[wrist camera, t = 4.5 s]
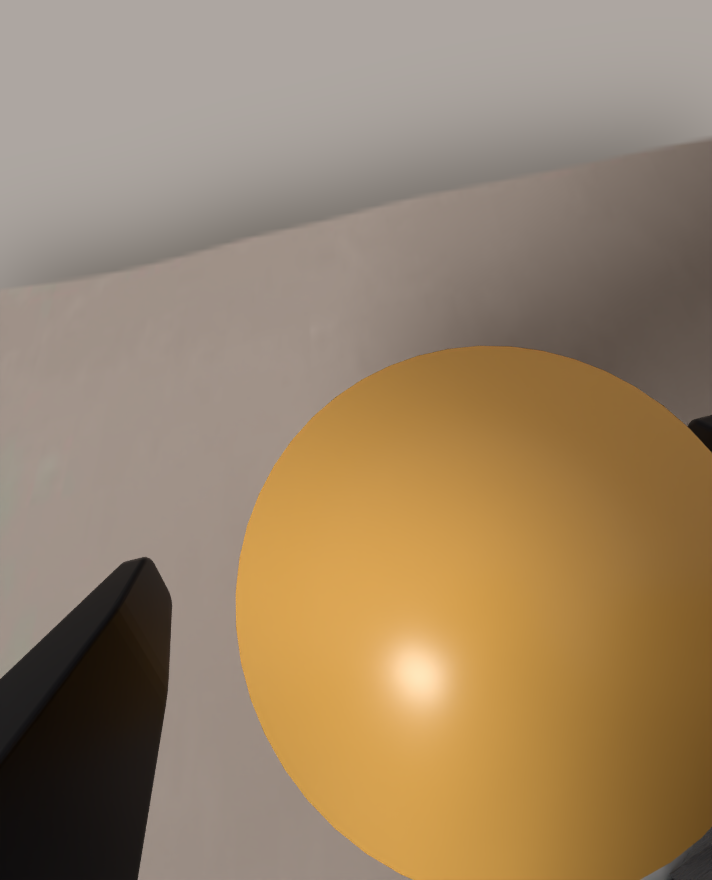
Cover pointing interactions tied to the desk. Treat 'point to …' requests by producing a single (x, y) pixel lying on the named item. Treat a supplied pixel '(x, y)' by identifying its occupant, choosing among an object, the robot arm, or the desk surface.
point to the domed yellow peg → (489, 619)
